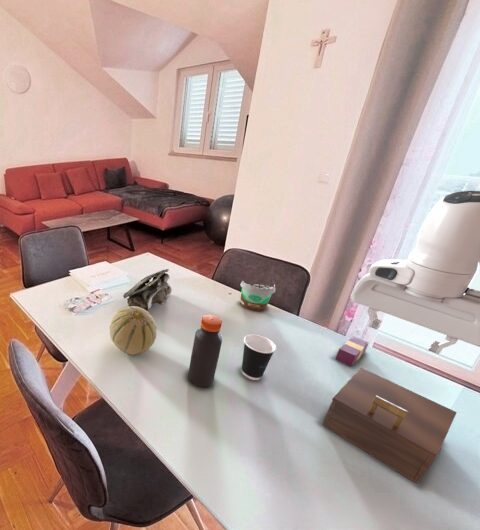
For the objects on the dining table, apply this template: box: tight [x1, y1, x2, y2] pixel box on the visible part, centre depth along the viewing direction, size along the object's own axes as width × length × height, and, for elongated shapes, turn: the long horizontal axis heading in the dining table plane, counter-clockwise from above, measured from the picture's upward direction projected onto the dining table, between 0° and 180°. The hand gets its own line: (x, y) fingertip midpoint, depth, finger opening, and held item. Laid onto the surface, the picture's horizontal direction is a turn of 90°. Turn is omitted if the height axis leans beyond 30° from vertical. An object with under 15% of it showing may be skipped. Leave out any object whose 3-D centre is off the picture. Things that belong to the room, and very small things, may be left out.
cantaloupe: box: [109, 306, 157, 356], centre depth 98 cm, size 15×15×15 cm
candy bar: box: [335, 336, 370, 367], centre depth 97 cm, size 4×11×4 cm, turn 124°
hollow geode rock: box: [122, 268, 173, 312], centre depth 124 cm, size 28×13×15 cm
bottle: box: [187, 314, 223, 388], centre depth 84 cm, size 7×7×20 cm
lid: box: [331, 367, 457, 459], centre depth 68 cm, size 17×17×5 cm
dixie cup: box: [241, 334, 277, 381], centre depth 88 cm, size 8×8×11 cm
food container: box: [239, 280, 276, 312], centre depth 121 cm, size 12×6×10 cm, turn 73°
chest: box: [321, 399, 436, 485], centre depth 71 cm, size 17×17×8 cm
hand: (402, 338), depth 65 cm, fingers open, 8 cm apart
